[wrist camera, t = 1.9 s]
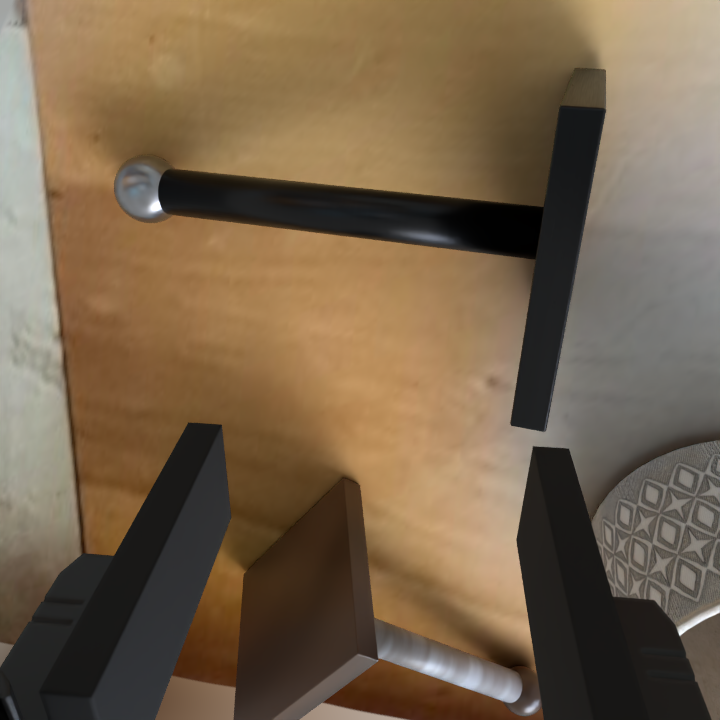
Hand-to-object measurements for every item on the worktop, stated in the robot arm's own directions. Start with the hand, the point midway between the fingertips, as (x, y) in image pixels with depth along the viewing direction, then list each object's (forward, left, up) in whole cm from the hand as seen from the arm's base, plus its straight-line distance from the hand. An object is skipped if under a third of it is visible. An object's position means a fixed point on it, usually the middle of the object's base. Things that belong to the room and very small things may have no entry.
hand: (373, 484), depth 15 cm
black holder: (-3, -2, -25) cm, 25 cm away
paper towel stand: (+22, -25, -25) cm, 41 cm away
